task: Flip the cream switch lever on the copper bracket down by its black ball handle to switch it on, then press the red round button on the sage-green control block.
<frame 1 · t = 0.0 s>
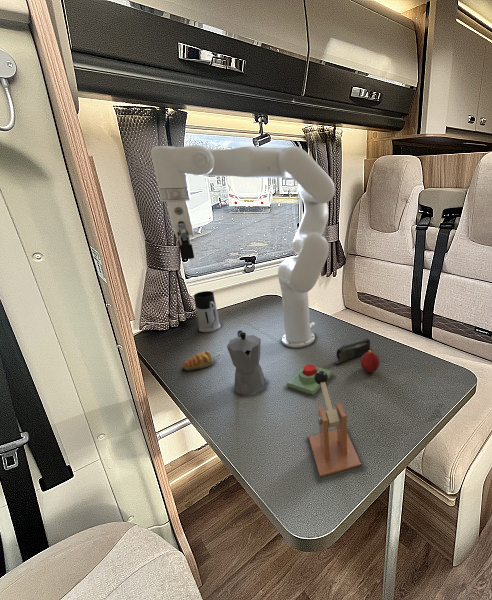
hand: (187, 255, 94), 37 cm above the table, tool pointing down, fingers open, 9 cm apart
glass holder: (212, 329, 132), on the table
onion: (369, 372, 100), on the table
start button: (309, 370, 94), point 4 cm above the table, slide at 0.1 cm
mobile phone: (352, 357, 109), on the table
switch lever: (326, 396, 71), point 12 cm above the table, hinge at 25.0°
pastry: (200, 365, 107), on the table
coffeepot: (250, 385, 96), on the table
switch bracket: (333, 453, 71), on the table
control block: (310, 382, 96), on the table
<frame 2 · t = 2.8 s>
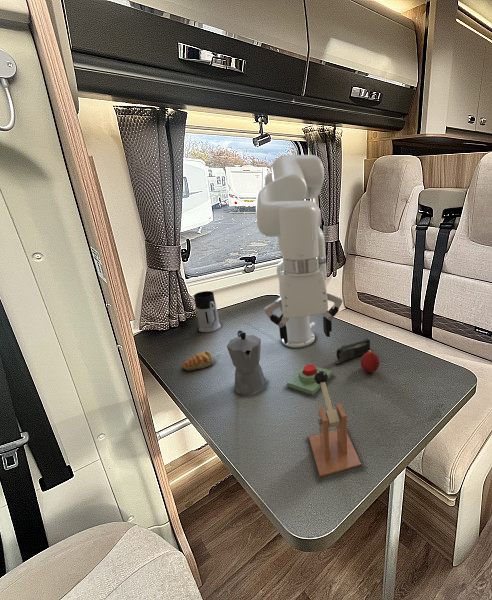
hand: (306, 337, 72), 24 cm above the table, tool pointing down, fingers open, 9 cm apart
nothing on the table moved.
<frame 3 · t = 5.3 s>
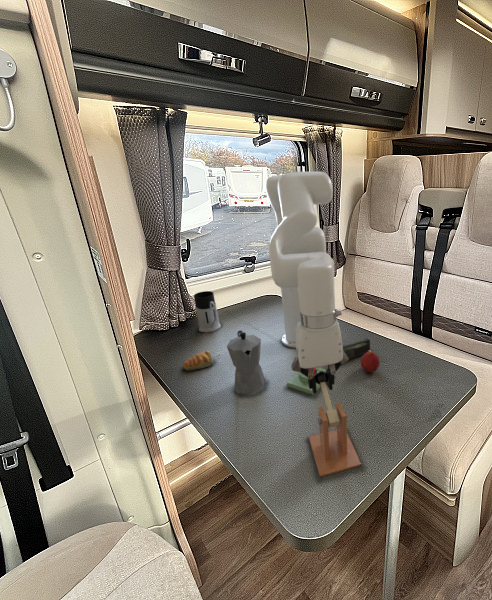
hand: (321, 387, 75), 11 cm above the table, tool pointing down, fingers closed on switch lever, 3 cm apart
switch lever: (326, 396, 71), point 12 cm above the table, hinge at 25.0°, touching gripper
everything else where it was.
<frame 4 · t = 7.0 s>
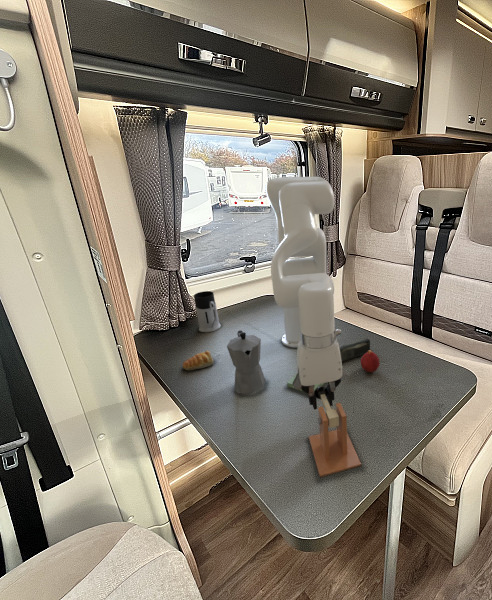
hand: (321, 403, 77), 6 cm above the table, tool pointing down, fingers closed on switch lever, 3 cm apart
switch lever: (326, 404, 72), point 10 cm above the table, hinge at -3.8°, touching gripper
everything else where it was.
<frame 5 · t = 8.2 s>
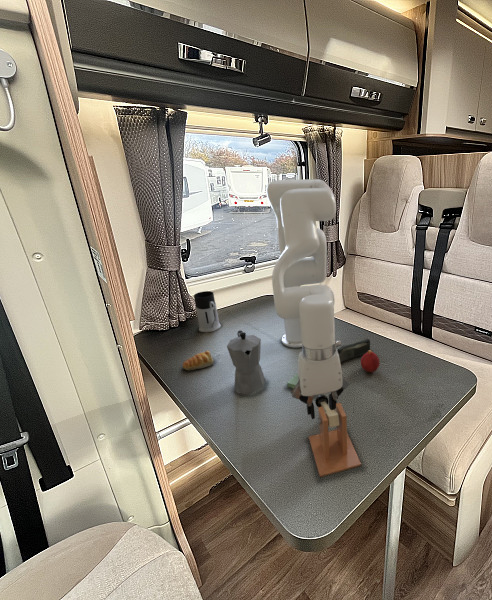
hand: (322, 412, 78), 3 cm above the table, tool pointing down, fingers open, 4 cm apart
switch lever: (326, 409, 72), point 8 cm above the table, hinge at -17.1°
everything else where it was.
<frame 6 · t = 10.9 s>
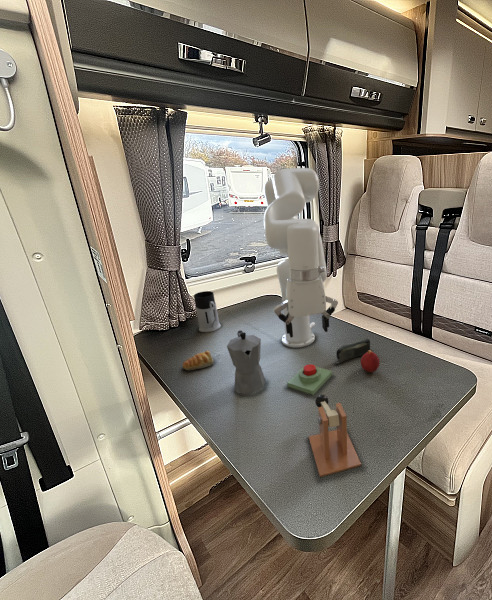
hand: (308, 332, 87), 18 cm above the table, tool pointing down, fingers open, 9 cm apart
nothing on the table moved.
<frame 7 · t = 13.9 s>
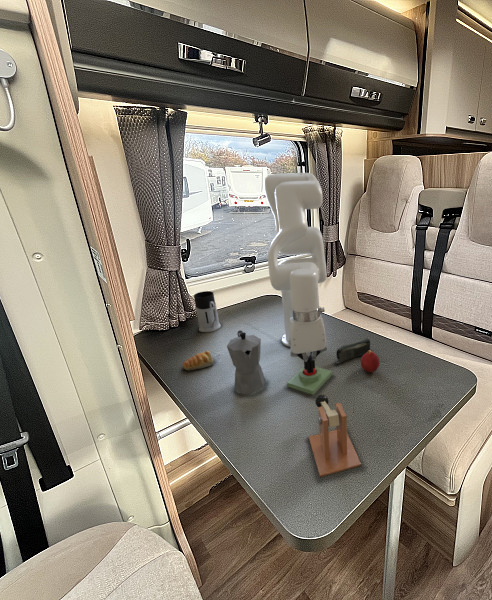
hand: (309, 370, 94), 5 cm above the table, tool pointing down, fingers closed
start button: (309, 372, 94), point 4 cm above the table, slide at -0.7 cm, touching gripper
everything else where it was.
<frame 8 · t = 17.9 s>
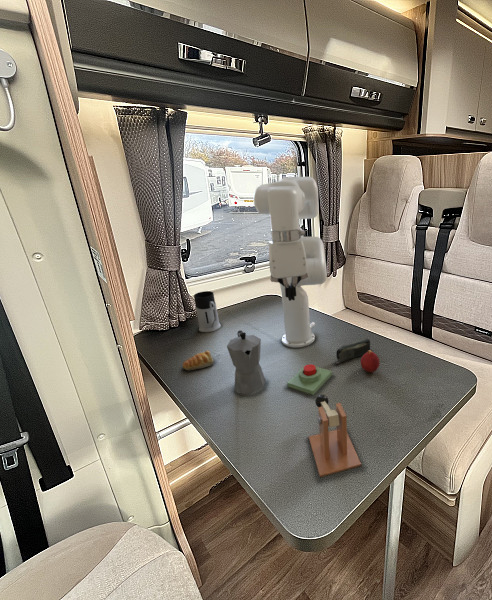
hand: (291, 298, 92), 25 cm above the table, tool pointing down, fingers closed
start button: (309, 370, 94), point 4 cm above the table, slide at 0.1 cm
everything else where it was.
at the end: switch lever at -17° (first picture: +25°); start button pushed in 1.1 cm at the most during the clip, back to where it started at the end; start button slide at 0.1 cm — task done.
